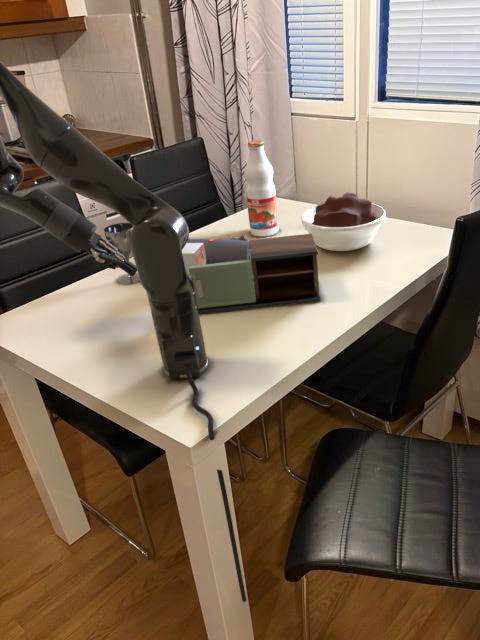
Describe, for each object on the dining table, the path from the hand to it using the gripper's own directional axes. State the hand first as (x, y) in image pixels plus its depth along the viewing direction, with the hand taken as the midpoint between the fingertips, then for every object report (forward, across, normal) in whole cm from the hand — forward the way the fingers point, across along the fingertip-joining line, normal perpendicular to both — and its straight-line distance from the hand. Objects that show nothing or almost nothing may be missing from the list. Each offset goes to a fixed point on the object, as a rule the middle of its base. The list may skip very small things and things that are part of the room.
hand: (135, 272), depth 140 cm
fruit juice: (+32, -54, +14) cm, 65 cm away
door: (+22, 0, +7) cm, 23 cm away
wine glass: (+4, -26, -14) cm, 30 cm away
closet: (+34, -6, +17) cm, 38 cm away
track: (+28, 0, +11) cm, 30 cm away
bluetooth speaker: (+19, -31, +8) cm, 37 cm away
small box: (+17, -17, 0) cm, 24 cm away
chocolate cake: (+48, -35, +31) cm, 67 cm away
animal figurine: (+26, -42, +12) cm, 51 cm away
